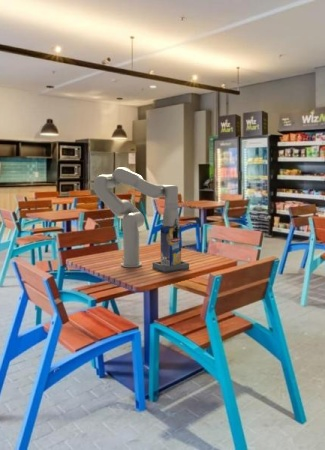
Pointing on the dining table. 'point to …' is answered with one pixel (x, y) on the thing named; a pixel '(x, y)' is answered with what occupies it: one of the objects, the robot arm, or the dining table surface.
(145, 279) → the dining table surface
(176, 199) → the robot arm
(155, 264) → the tray
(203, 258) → the dining table surface
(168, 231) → the beverage box
